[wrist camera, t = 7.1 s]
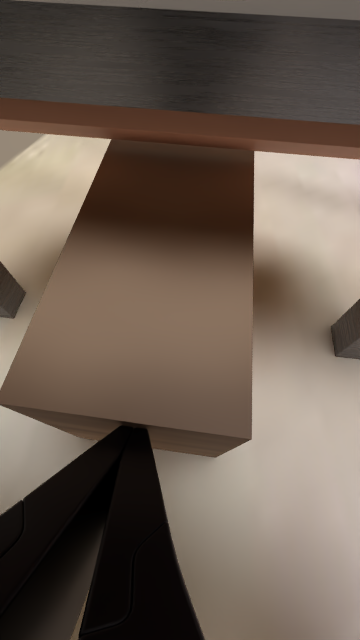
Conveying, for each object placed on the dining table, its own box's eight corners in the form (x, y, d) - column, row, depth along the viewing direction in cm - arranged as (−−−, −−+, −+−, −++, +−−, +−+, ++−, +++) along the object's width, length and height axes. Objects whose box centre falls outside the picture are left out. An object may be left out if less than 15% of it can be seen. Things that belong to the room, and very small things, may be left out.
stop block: (215, 457, 14) (251, 439, 7) (80, 438, 15) (-6, 402, 8) (228, 250, 21) (254, 138, 14) (136, 241, 22) (116, 127, 14)
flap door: (382, 161, 13) (498, 158, 8) (-2, 130, 14) (-130, 108, 9) (394, 129, 12) (528, 103, 7) (-7, 98, 13) (-150, 56, 8)
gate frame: (370, 363, 17) (903, 50, 4) (-19, 317, 18) (-437, -26, 6) (362, 327, 18) (768, 1, 6) (-2, 286, 19) (-320, -53, 7)
